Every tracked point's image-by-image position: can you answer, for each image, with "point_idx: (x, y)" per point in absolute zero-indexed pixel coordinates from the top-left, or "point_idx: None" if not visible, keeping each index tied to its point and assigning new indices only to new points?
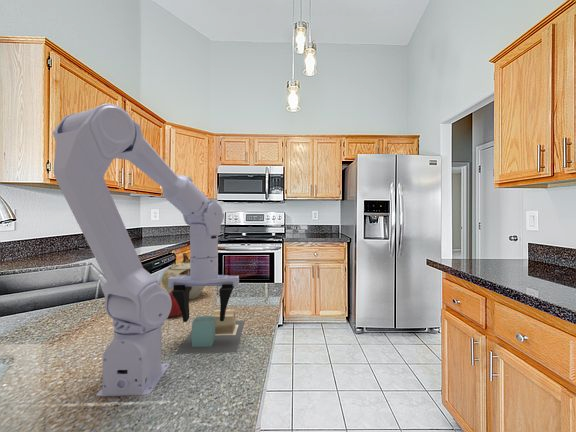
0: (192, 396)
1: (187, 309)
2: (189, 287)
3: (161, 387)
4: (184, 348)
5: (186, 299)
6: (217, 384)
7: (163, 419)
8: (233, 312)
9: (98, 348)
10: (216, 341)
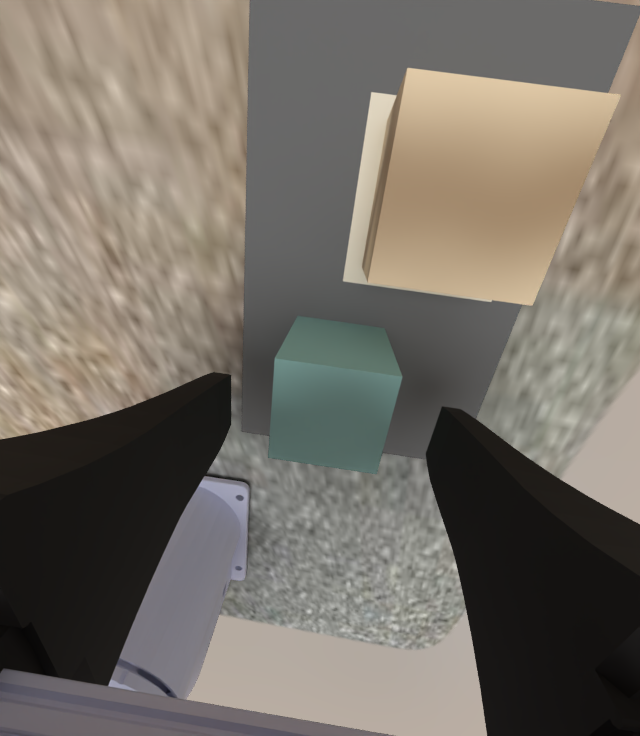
0: (331, 585)
1: (199, 433)
2: (39, 516)
3: (259, 551)
4: (264, 398)
5: (150, 511)
6: (382, 566)
7: (292, 618)
8: (568, 201)
9: None
10: None
